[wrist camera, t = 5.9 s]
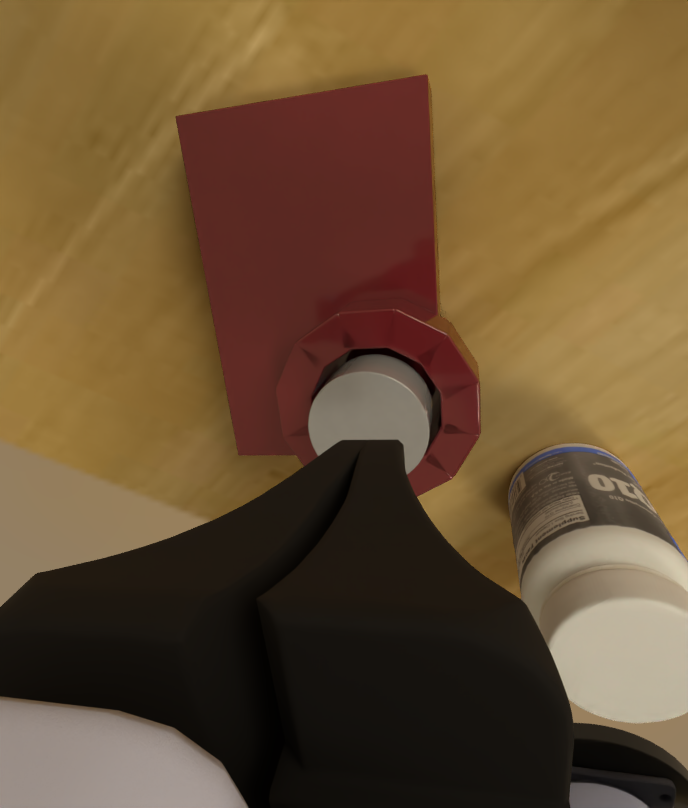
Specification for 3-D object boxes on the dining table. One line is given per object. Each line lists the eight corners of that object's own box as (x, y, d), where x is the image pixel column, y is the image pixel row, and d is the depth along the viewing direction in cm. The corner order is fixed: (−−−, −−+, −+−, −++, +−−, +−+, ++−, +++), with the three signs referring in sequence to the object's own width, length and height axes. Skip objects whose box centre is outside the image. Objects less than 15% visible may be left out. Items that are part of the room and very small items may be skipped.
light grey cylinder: (435, 457, 17) (432, 486, 15) (329, 457, 18) (315, 484, 16) (430, 350, 16) (426, 369, 14) (317, 356, 17) (300, 374, 15)
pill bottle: (664, 497, 20) (791, 682, 12) (564, 565, 22) (620, 763, 14) (574, 415, 19) (647, 551, 12) (481, 491, 21) (491, 653, 14)
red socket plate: (478, 450, 21) (482, 503, 17) (258, 451, 23) (220, 498, 19) (471, 81, 16) (474, 46, 13) (202, 124, 19) (139, 105, 15)
